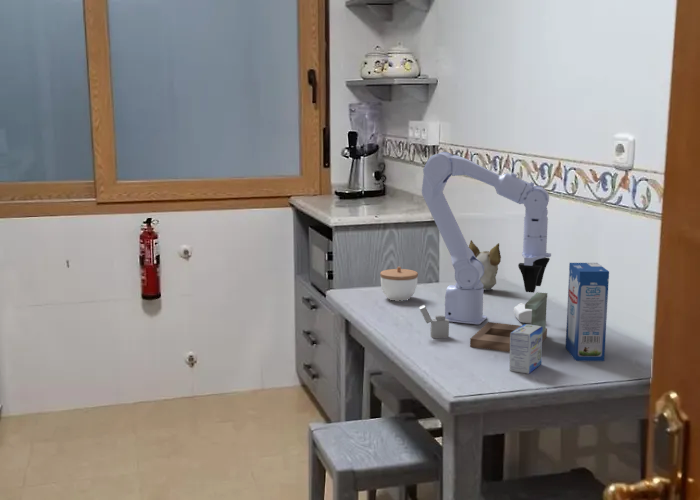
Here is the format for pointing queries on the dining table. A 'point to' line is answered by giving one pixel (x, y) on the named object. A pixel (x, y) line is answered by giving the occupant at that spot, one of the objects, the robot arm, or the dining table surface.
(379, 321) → the dining table surface
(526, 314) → the eye dropper bottle
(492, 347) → the socket board
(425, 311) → the lighter
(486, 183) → the robot arm
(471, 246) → the ceramic sculpture
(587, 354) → the milk carton
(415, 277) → the lidded jar
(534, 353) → the medicine box
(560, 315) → the dining table surface
